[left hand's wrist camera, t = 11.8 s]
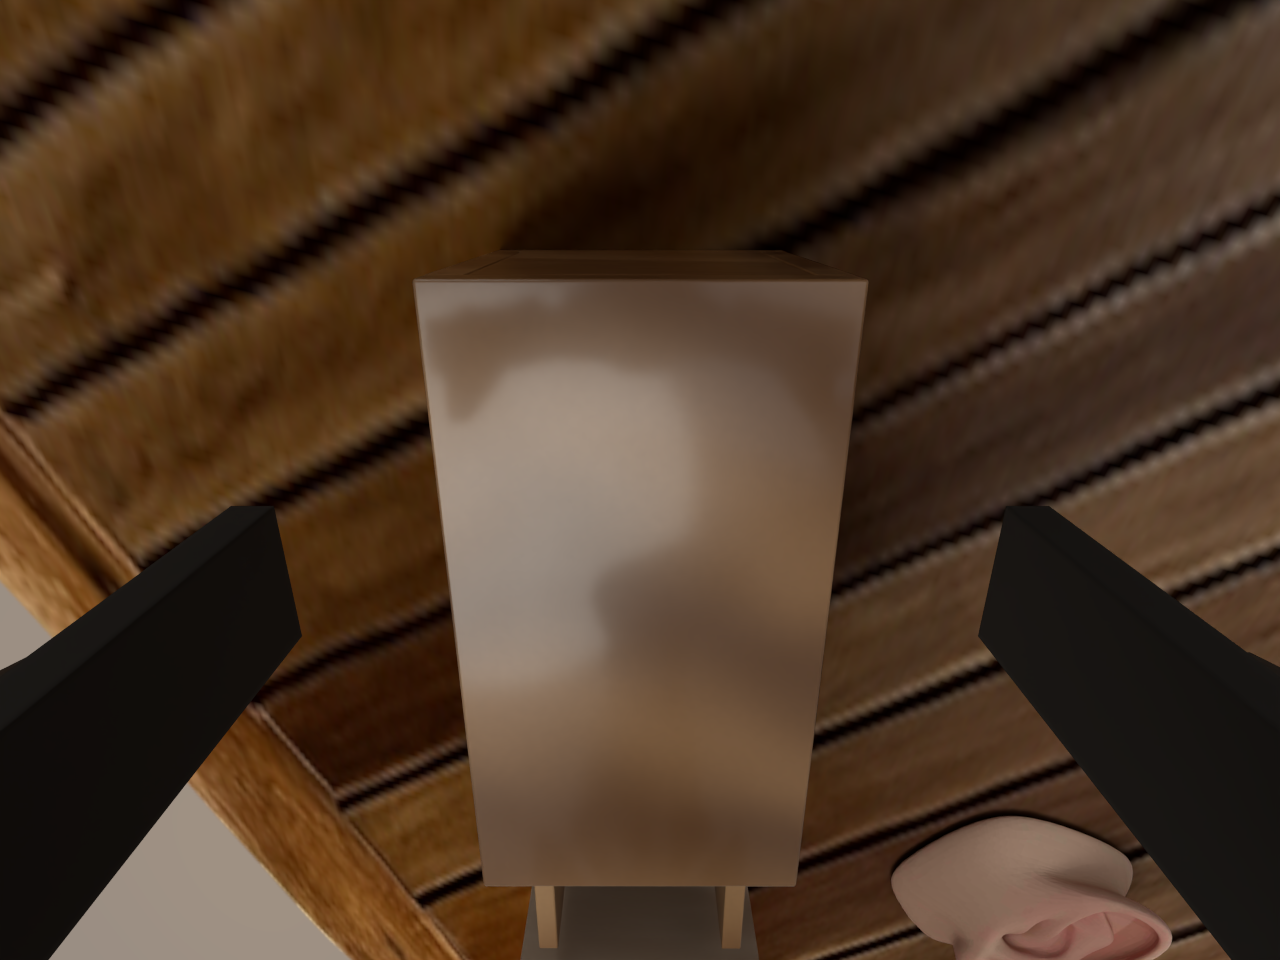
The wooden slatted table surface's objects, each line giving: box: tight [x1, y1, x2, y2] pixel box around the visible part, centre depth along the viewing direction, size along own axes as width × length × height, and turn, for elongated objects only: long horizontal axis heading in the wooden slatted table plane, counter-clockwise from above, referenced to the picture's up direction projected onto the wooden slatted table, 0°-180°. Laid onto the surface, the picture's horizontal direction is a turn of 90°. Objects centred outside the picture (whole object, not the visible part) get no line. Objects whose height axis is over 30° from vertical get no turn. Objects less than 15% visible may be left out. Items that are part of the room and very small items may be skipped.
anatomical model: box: [891, 816, 1172, 960], centre depth 39 cm, size 13×4×12 cm
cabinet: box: [413, 250, 869, 886], centre depth 27 cm, size 22×12×12 cm, turn 0°
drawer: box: [521, 886, 759, 960], centre depth 31 cm, size 26×10×10 cm, turn 0°
